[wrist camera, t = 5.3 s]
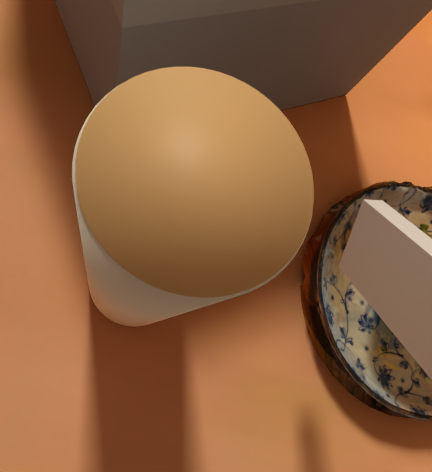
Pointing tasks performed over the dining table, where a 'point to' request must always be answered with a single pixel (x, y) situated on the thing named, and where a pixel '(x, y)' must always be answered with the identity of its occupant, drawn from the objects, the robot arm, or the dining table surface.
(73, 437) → the dining table surface
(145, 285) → the coin roll
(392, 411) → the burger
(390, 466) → the dining table surface
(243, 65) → the gray square-hole box
